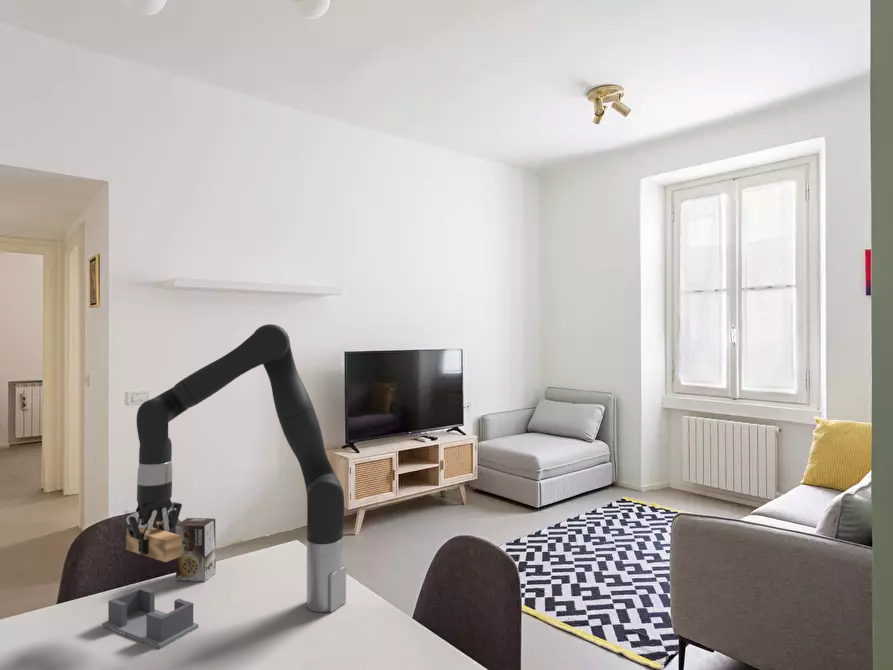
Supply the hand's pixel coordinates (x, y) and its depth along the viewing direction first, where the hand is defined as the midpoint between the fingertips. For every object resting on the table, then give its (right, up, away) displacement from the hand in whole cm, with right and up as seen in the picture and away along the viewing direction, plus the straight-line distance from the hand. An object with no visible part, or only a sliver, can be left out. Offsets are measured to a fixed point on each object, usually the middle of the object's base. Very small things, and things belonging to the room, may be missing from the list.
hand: (153, 550), depth 133 cm
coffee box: (-2, -18, +27) cm, 32 cm away
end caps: (0, -18, -1) cm, 18 cm away
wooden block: (0, -1, 0) cm, 1 cm away
